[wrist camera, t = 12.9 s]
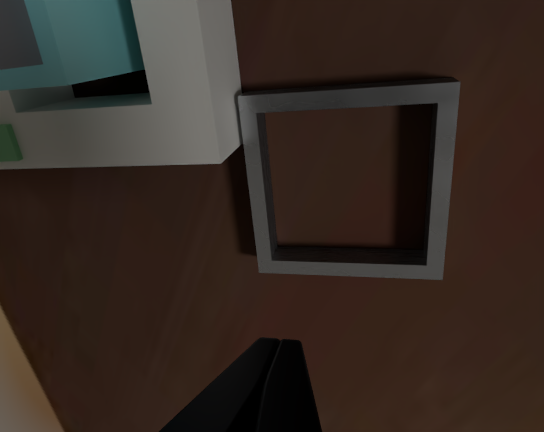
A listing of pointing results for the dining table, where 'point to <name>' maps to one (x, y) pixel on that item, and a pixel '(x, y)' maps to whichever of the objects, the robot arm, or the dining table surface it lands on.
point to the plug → (66, 42)
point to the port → (140, 100)
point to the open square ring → (353, 259)
